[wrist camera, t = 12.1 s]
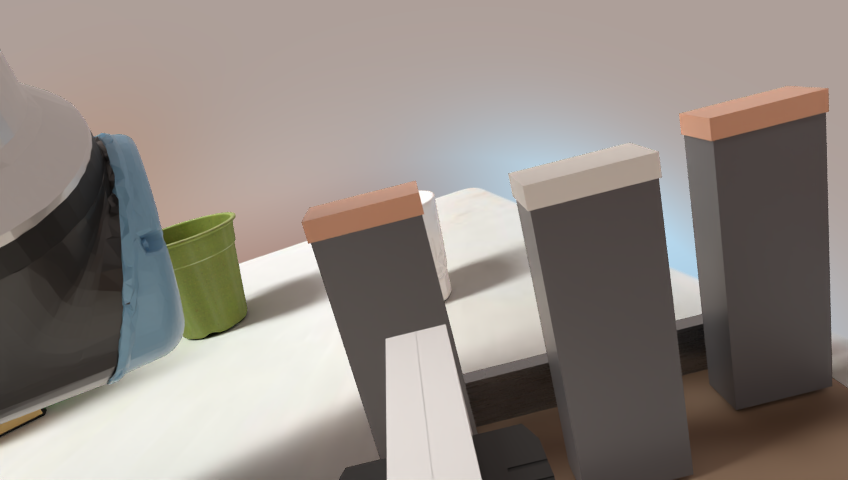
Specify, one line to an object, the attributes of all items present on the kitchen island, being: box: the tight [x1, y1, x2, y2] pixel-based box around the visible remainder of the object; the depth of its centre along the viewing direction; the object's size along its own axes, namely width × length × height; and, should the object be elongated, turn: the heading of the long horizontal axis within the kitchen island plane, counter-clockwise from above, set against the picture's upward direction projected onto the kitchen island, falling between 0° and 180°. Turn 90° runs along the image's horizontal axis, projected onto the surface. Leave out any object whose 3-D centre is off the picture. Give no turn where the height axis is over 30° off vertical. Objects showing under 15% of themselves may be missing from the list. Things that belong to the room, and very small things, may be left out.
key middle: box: [509, 143, 693, 480], centre depth 25 cm, size 3×5×15 cm, turn 95°
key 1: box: [679, 86, 832, 410], centre depth 28 cm, size 3×5×15 cm, turn 95°
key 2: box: [302, 181, 478, 459], centre depth 28 cm, size 3×5×15 cm, turn 95°
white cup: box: [419, 191, 452, 301], centre depth 55 cm, size 8×8×10 cm
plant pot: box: [162, 212, 247, 339], centre depth 62 cm, size 12×12×11 cm
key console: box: [463, 314, 848, 480], centre depth 28 cm, size 11×24×4 cm, turn 95°
